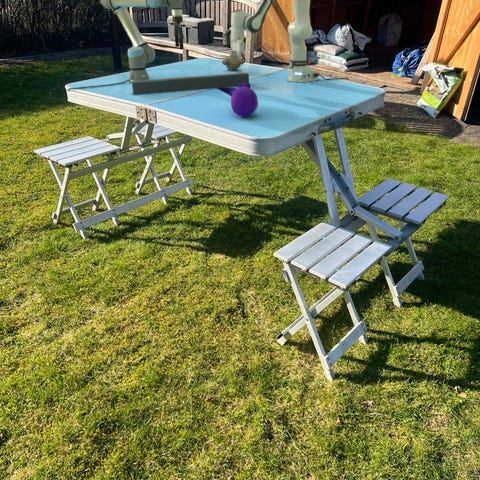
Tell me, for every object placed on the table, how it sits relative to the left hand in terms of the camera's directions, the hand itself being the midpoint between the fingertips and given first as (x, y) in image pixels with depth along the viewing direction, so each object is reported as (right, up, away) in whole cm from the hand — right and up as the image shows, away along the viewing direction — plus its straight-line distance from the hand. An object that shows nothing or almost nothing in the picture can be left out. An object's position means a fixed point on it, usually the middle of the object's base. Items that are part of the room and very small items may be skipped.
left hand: (179, 48), depth 332 cm
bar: (+12, -37, -19) cm, 43 cm away
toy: (+45, -71, -79) cm, 115 cm away
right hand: (+43, -16, -20) cm, 50 cm away
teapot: (+40, -2, +39) cm, 56 cm away
